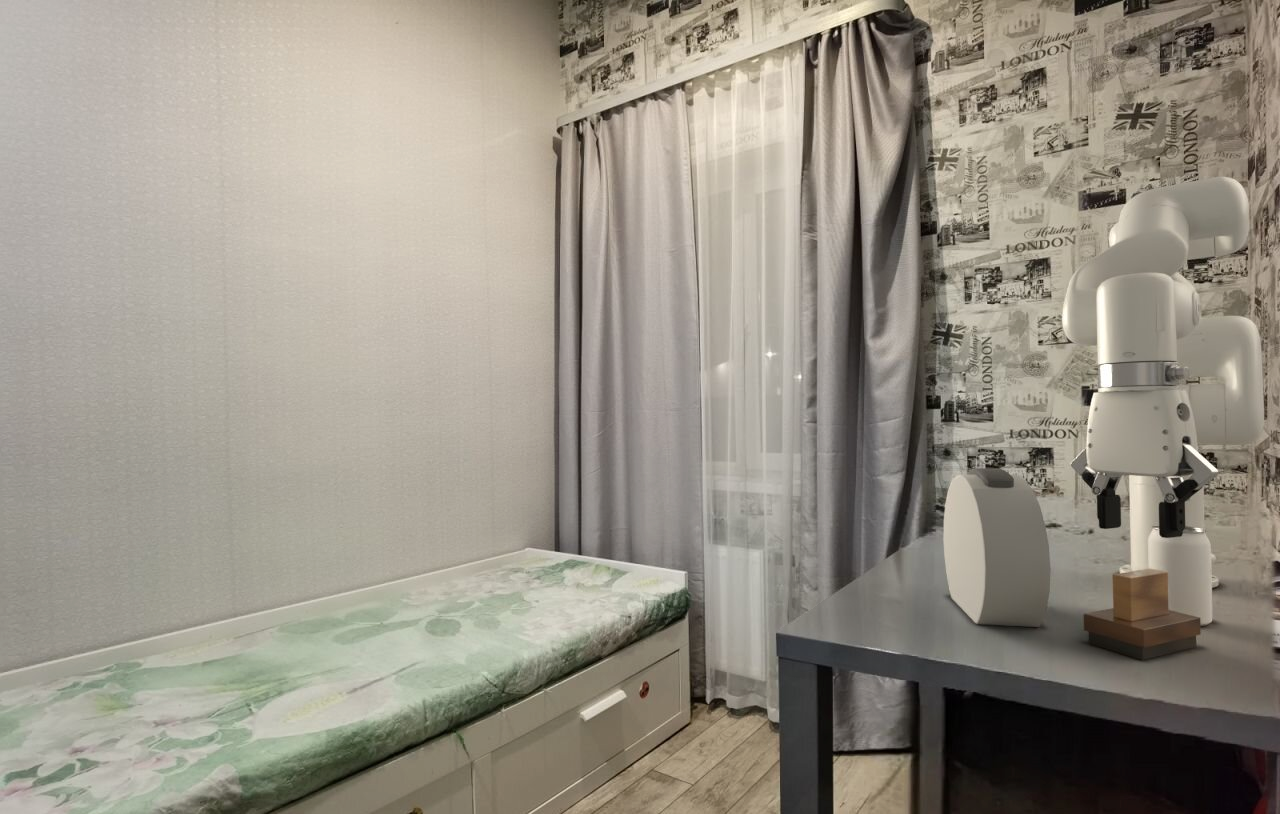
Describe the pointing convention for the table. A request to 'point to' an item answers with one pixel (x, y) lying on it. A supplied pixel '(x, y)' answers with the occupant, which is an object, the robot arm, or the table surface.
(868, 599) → the table surface
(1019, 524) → the alarm clock
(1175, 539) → the can
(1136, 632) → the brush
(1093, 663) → the table surface
